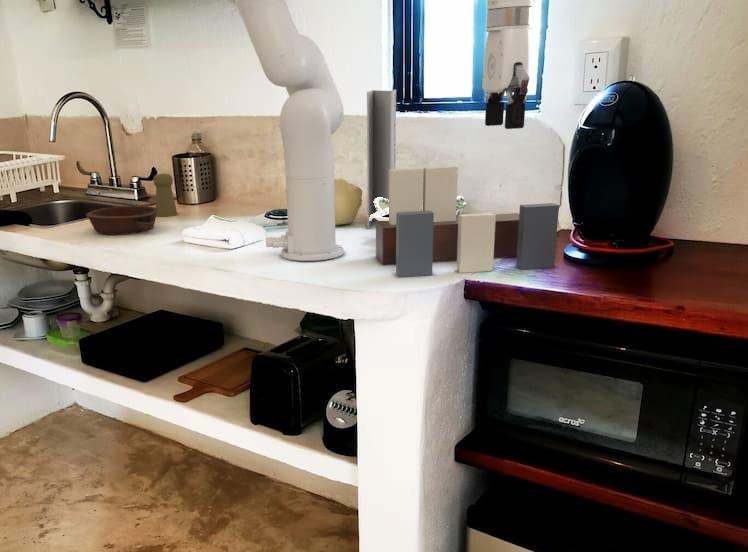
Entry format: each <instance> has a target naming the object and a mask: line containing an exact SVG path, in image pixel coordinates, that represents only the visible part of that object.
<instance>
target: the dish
mask: <svg viewBox="0 0 748 552" xmlns="http://www.w3.org/2000/svg"><path fill="white" fill-rule="evenodd" d="M157 212H158V208H156V206H148V205H120V206H112V207H104V208H102V207H101V208H98V209H94V210H92V211H89V212H87V213H86V214H85V216H86V218H87V219H88V220H89V221H90V223H91V225H92V228H93V229H94V230H95V231H96V232H97V233H100V234H105V235H125V234H134V233H141V232H144V231H151V230H153V229H154V228H155V223H156V219H157V216H156V214H157Z"/></svg>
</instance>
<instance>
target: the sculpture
mask: <svg viewBox="0 0 748 552" xmlns="http://www.w3.org/2000/svg"><path fill="white" fill-rule="evenodd" d="M334 193H335V226H339V225H349V224H351V223H353V221H355V219H356V217H357V215H358V213H359V210H360V208H361V207H362V204H363V198H362V196H363V190H362V188H360V187H359V186H357V185H355V184H352V183H349V182H348V181H347V180H346V179H343V178H338V179H336V178H334Z"/></svg>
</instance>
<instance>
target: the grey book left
mask: <svg viewBox="0 0 748 552" xmlns="http://www.w3.org/2000/svg"><path fill="white" fill-rule="evenodd" d="M433 224H434V213H433V212H432V211H430V210H429V211H413V212H397V213H396V264H395V275H396V276H397V277H398V278H407V277H423V276H433V263H434V262H433Z"/></svg>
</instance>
